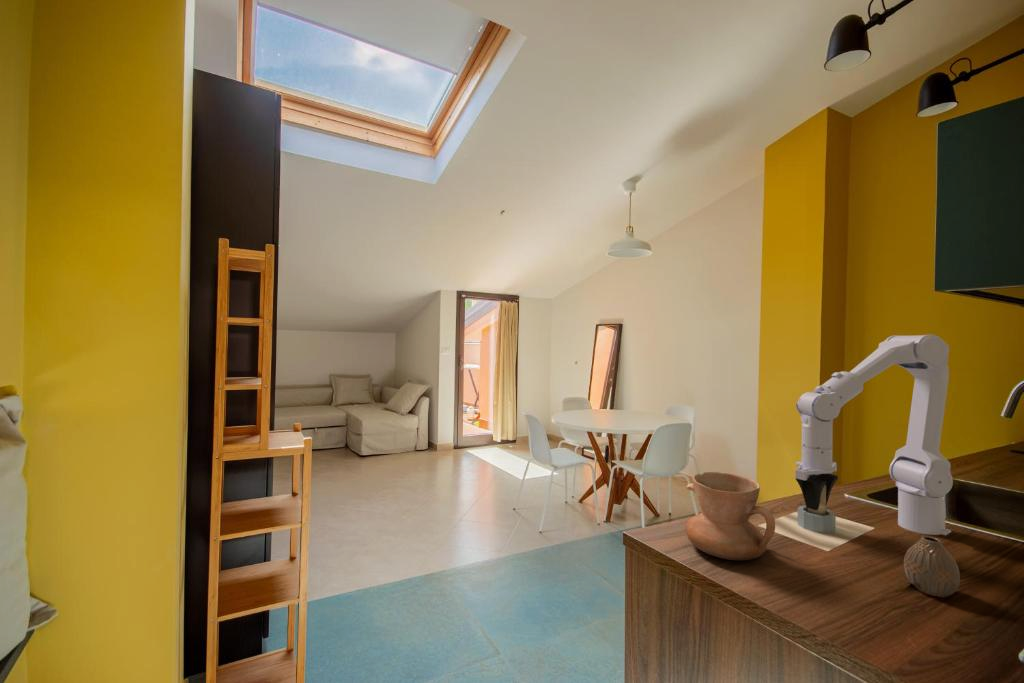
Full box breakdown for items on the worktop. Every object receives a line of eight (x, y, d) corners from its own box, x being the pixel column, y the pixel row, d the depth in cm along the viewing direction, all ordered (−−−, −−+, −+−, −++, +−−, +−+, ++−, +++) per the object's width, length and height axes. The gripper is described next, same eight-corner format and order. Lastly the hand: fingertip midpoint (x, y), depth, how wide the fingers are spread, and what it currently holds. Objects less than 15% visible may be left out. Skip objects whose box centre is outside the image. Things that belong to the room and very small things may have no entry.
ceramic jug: (665, 541, 92) (666, 473, 92) (708, 526, 100) (710, 464, 100) (749, 584, 77) (750, 503, 77) (793, 562, 84) (795, 488, 84)
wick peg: (811, 512, 101) (812, 477, 101) (827, 517, 98) (828, 481, 98) (805, 515, 99) (806, 479, 99) (821, 520, 97) (822, 484, 97)
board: (806, 510, 111) (806, 507, 111) (874, 531, 99) (874, 528, 99) (757, 529, 99) (757, 525, 99) (827, 555, 87) (827, 551, 87)
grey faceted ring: (807, 518, 104) (807, 503, 104) (840, 529, 98) (840, 513, 98) (791, 524, 100) (791, 509, 100) (825, 535, 94) (826, 519, 94)
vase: (971, 605, 71) (972, 550, 71) (921, 599, 72) (921, 545, 72) (939, 582, 78) (939, 532, 78) (894, 577, 79) (894, 528, 79)
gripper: (813, 439, 106) (812, 496, 106) (780, 446, 99) (780, 507, 99) (847, 445, 100) (846, 505, 100) (815, 453, 93) (815, 518, 93)
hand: (816, 507), depth 99 cm, fingers closed on wick peg, 3 cm apart
